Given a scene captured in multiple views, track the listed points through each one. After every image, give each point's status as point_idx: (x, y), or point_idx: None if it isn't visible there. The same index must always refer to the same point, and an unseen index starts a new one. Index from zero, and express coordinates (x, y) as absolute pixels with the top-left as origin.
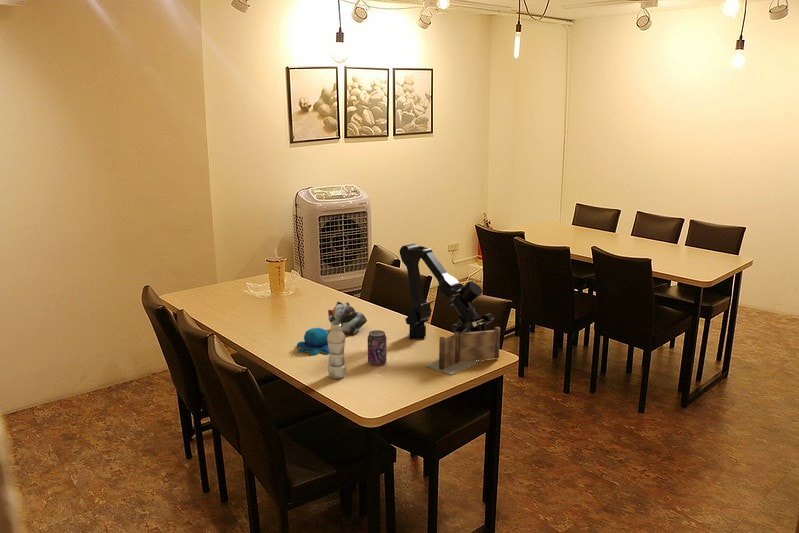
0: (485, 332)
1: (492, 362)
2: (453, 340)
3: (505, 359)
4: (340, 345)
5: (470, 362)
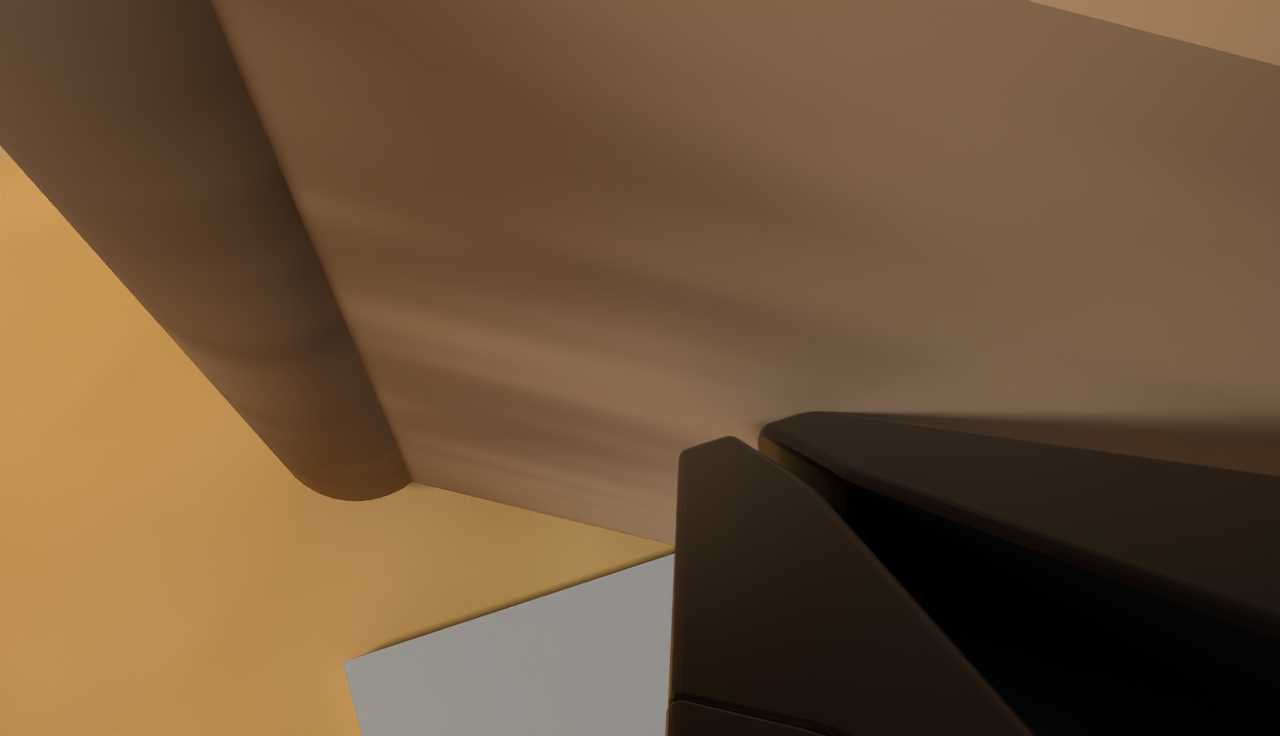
0: None
1: None
2: None
3: (121, 288)
4: None
5: None
